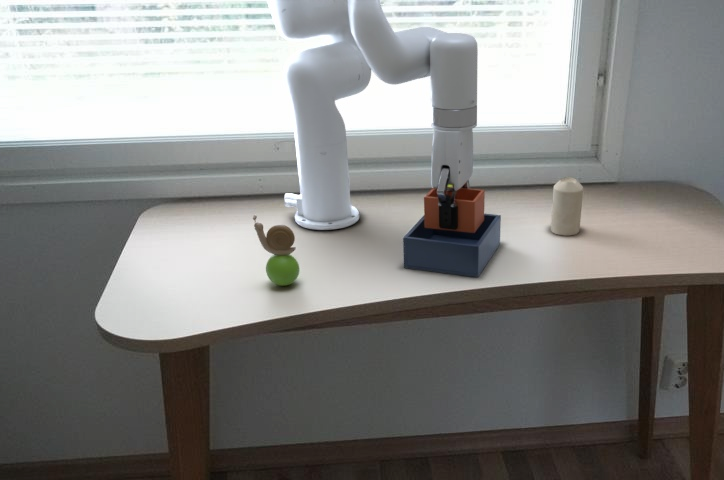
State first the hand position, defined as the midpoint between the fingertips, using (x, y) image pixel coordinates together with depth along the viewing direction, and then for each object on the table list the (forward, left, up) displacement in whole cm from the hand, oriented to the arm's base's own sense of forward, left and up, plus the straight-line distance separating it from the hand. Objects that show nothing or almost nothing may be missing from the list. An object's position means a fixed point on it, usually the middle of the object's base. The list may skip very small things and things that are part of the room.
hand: (454, 220), depth 145 cm
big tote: (0, 0, -7) cm, 7 cm away
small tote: (0, 0, -1) cm, 1 cm away
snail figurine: (-24, -20, -7) cm, 32 cm away
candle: (+17, +18, -7) cm, 26 cm away
